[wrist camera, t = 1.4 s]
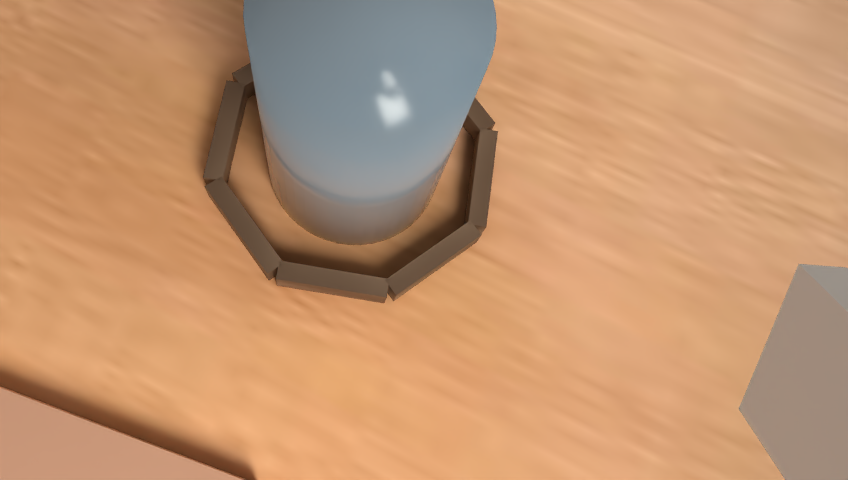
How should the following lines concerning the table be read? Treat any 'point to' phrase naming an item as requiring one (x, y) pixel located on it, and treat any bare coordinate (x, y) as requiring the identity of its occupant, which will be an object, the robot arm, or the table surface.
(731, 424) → the table surface
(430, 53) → the grey canister
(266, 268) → the walnut collar
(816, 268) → the robot arm
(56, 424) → the terracotta tile
